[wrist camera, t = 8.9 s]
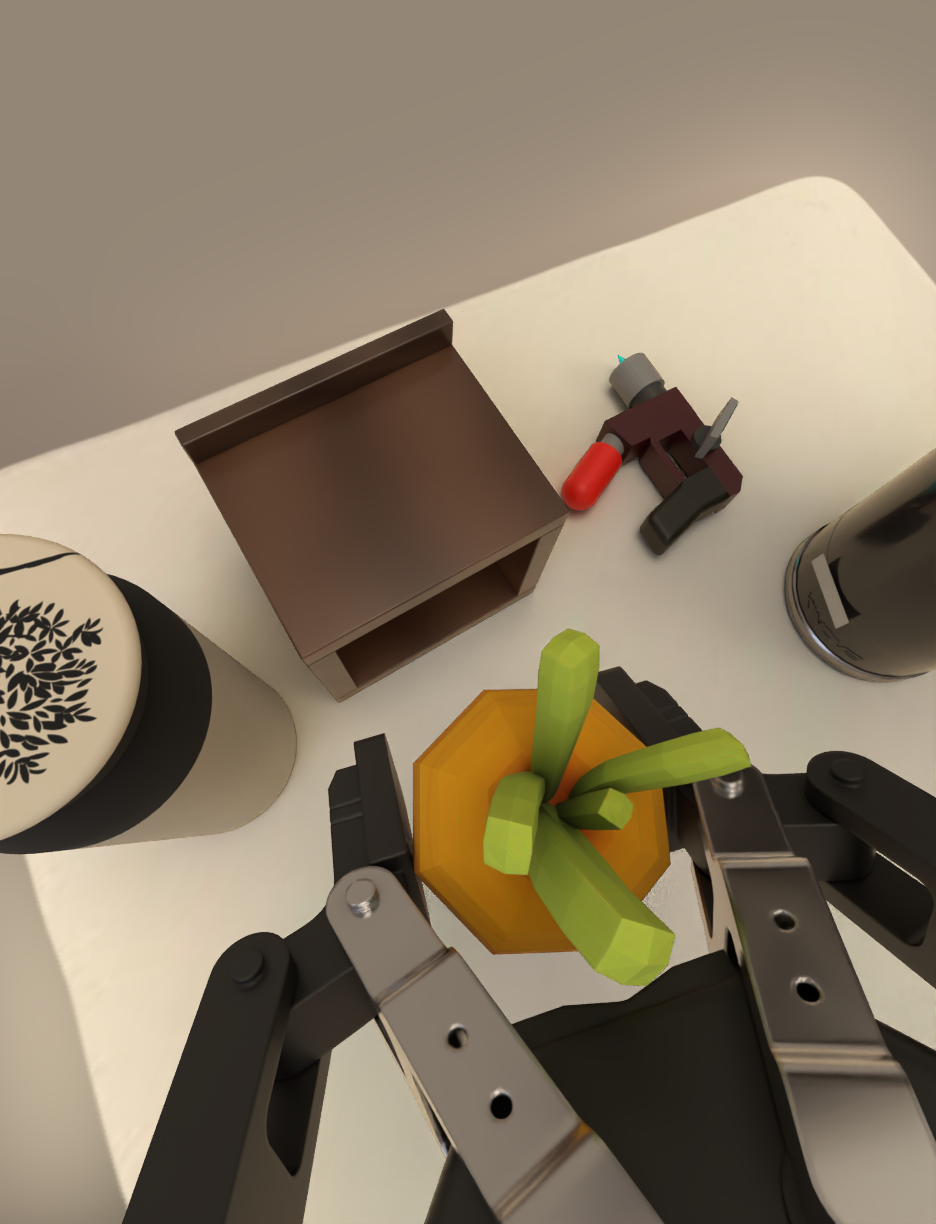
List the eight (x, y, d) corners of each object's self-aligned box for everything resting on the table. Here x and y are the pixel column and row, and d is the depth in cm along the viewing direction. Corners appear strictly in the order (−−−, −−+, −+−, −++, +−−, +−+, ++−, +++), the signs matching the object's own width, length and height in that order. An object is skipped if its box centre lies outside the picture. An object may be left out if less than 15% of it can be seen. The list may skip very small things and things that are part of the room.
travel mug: (306, 816, 31) (155, 822, 14) (137, 850, 30) (-243, 900, 13) (288, 659, 34) (138, 499, 16) (130, 686, 33) (-204, 549, 15)
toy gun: (633, 357, 40) (660, 299, 36) (747, 510, 38) (791, 468, 33) (501, 419, 39) (511, 366, 34) (610, 584, 36) (636, 551, 31)
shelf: (440, 452, 38) (444, 307, 27) (533, 592, 35) (577, 494, 24) (252, 547, 35) (172, 430, 24) (339, 703, 33) (293, 650, 22)
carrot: (449, 715, 22) (476, 543, 8) (585, 768, 22) (866, 689, 8) (393, 858, 21) (302, 961, 6) (537, 917, 20) (775, 1162, 6)
